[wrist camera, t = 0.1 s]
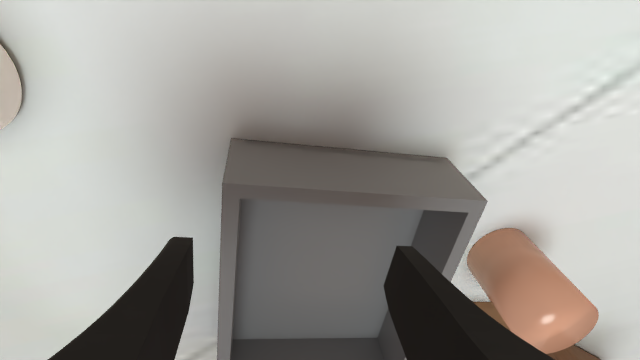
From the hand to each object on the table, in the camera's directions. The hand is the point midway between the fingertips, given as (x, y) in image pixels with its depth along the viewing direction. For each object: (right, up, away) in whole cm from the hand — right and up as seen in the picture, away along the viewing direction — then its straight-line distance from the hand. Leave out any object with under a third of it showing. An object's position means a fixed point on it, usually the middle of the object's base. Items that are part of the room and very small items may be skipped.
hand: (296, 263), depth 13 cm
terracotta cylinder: (+15, -3, +16) cm, 22 cm away
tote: (+1, -3, +14) cm, 14 cm away
